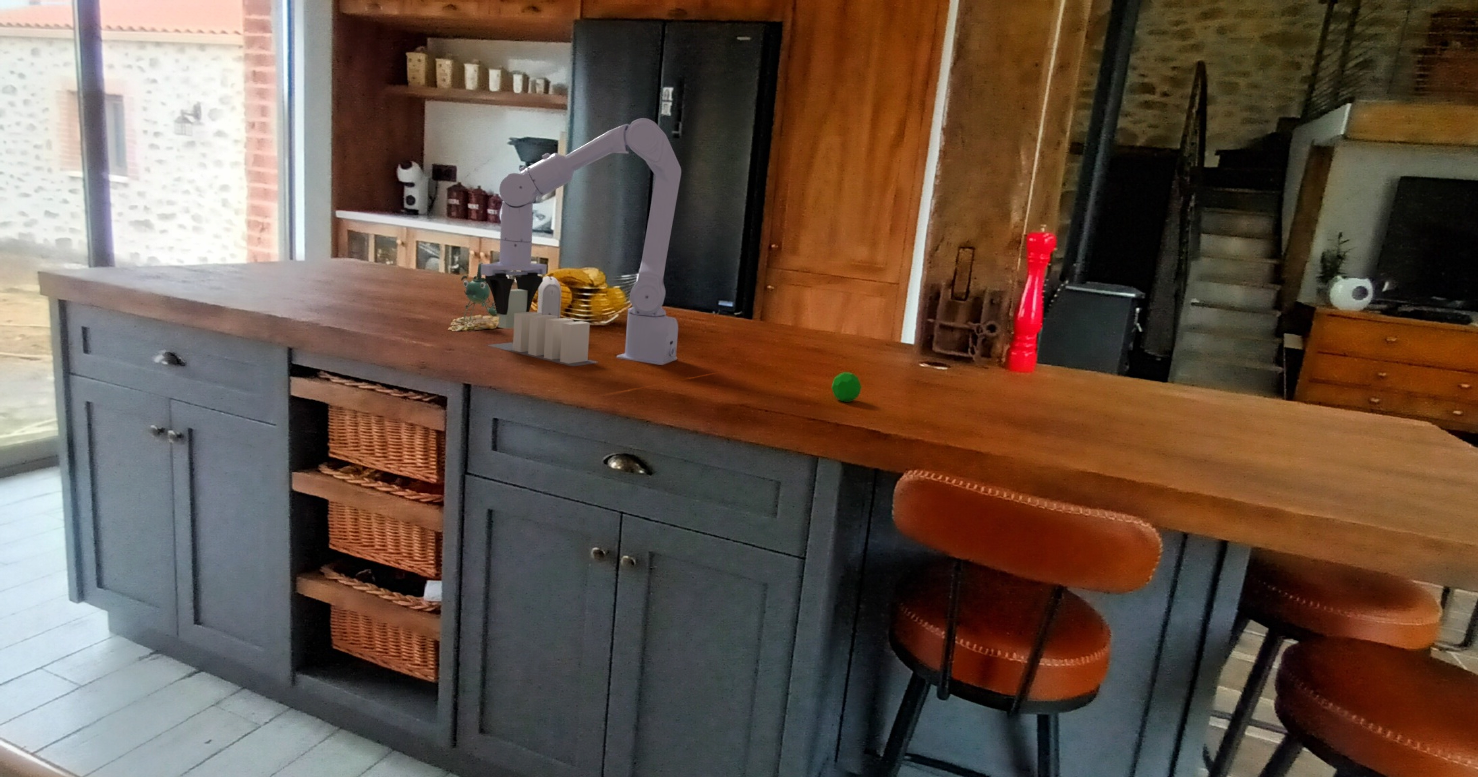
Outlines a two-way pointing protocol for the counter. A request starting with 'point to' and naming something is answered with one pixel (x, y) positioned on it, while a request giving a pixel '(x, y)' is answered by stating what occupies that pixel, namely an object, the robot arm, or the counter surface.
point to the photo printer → (549, 297)
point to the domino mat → (510, 348)
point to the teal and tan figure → (477, 294)
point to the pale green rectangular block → (513, 307)
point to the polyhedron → (846, 387)
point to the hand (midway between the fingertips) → (512, 313)
